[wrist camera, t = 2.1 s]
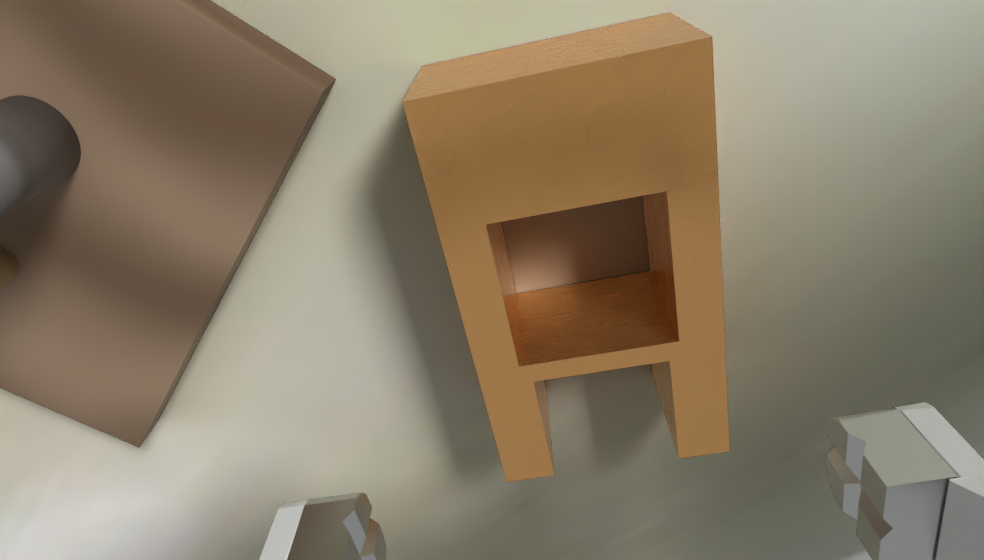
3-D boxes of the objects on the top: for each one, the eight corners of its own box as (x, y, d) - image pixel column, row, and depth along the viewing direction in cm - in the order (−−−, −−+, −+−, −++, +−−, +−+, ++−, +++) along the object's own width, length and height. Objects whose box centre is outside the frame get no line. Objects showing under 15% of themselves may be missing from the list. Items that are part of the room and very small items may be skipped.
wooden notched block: (422, 66, 18) (402, 101, 14) (670, 12, 17) (712, 36, 14) (506, 398, 24) (506, 481, 20) (695, 370, 23) (729, 451, 19)
